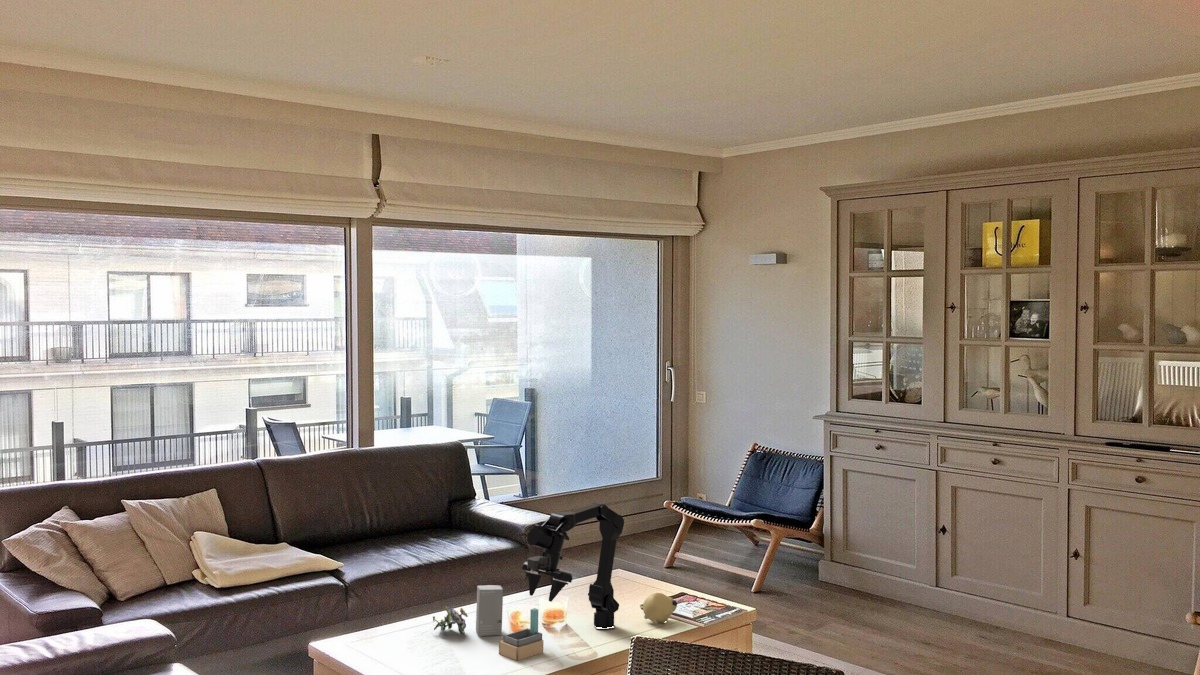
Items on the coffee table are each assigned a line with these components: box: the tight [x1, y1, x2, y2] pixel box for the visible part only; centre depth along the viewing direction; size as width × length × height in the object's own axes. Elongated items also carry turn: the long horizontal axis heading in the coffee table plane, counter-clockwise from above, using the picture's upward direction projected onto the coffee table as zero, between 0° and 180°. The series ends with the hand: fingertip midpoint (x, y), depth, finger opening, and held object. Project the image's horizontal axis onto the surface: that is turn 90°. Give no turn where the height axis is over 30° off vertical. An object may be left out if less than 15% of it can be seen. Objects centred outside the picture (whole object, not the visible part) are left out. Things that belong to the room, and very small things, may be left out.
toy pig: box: [642, 592, 678, 624], centre depth 345 cm, size 10×12×11 cm
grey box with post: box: [502, 608, 543, 647], centre depth 312 cm, size 11×7×13 cm, turn 136°
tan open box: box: [498, 639, 545, 662], centre depth 311 cm, size 11×9×4 cm
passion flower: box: [432, 606, 468, 636], centre depth 329 cm, size 11×11×12 cm
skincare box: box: [475, 584, 504, 638], centre depth 331 cm, size 8×7×16 cm
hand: (540, 598), depth 317 cm, fingers open, 9 cm apart
